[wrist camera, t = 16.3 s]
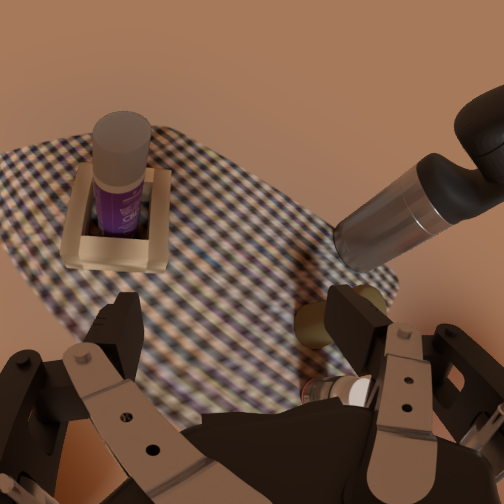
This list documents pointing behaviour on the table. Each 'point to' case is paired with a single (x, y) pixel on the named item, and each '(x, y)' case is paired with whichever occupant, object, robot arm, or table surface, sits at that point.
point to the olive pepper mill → (312, 318)
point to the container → (119, 171)
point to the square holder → (117, 249)
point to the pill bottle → (337, 389)
